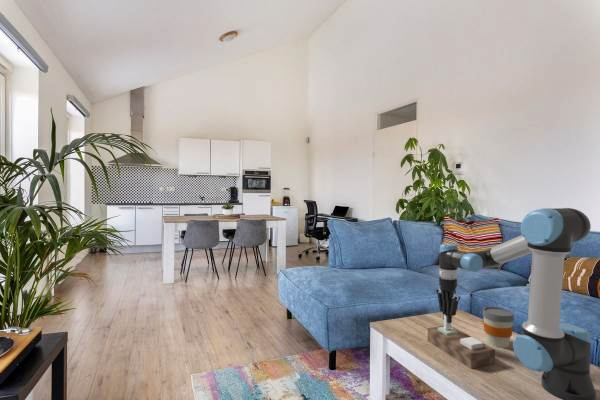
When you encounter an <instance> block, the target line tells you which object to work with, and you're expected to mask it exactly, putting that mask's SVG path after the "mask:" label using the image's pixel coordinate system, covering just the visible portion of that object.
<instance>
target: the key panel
mask: <svg viewBox="0 0 600 400" xmlns="http://www.w3.org/2000/svg"><path fill="white" fill-rule="evenodd" d="M439 327H444V325H440V326H433V327H428V328H427V342H429V343H431V344H432V345H433V346H435V347H436V348H438V349H439V350H442V351H443V352H445V353H446V354H447V353H448V355H449V356H451V357H452V358H454V359H455V360H457V361H458V362H459V363H462V364H463V365H465V366H466V367H467V368H468V369H471V370H473V369H476V368H482V367H485V366H492V365H495V364H496V360H495V358H496V349H495V348H493V347H491V346H489V345H488V344H485V343H484V342H482V343H483V348H478V349H473V350H471V349H469V348H467V347H466V346H464V345H462V344H461V343H460V339H462V338H468V337H471V335H468V334H467V333H465V332H462V330H459V329H457V328H455V327H453V326H451V328H453V329H454V330H456V331H458V334H453V335H445V334H443V333H441V332H440V331H438V328H439Z"/></svg>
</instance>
